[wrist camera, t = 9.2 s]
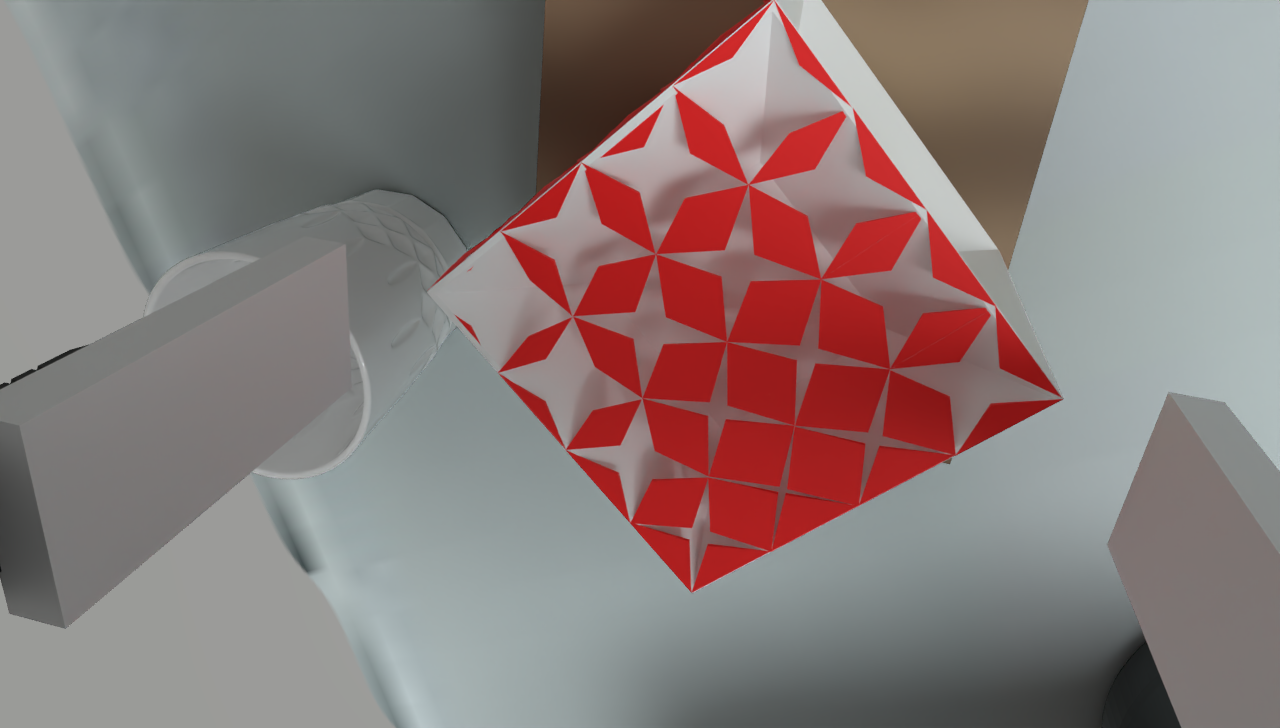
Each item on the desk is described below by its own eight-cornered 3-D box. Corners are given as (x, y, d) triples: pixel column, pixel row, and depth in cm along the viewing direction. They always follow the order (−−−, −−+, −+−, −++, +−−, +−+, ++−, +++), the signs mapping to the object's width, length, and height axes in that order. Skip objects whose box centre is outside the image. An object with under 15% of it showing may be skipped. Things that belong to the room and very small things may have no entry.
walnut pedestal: (927, 324, 33) (949, 464, 24) (611, 269, 35) (527, 380, 26) (1020, -30, 28) (1093, -15, 19) (642, -73, 30) (548, -77, 21)
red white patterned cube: (1000, 251, 22) (1064, 400, 15) (740, 412, 25) (692, 594, 18) (802, -27, 20) (770, -8, 13) (554, 184, 24) (423, 288, 17)
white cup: (440, 148, 35) (295, 221, 26) (517, 332, 37) (410, 455, 28) (278, 205, 37) (96, 289, 28) (361, 373, 40) (218, 498, 31)
